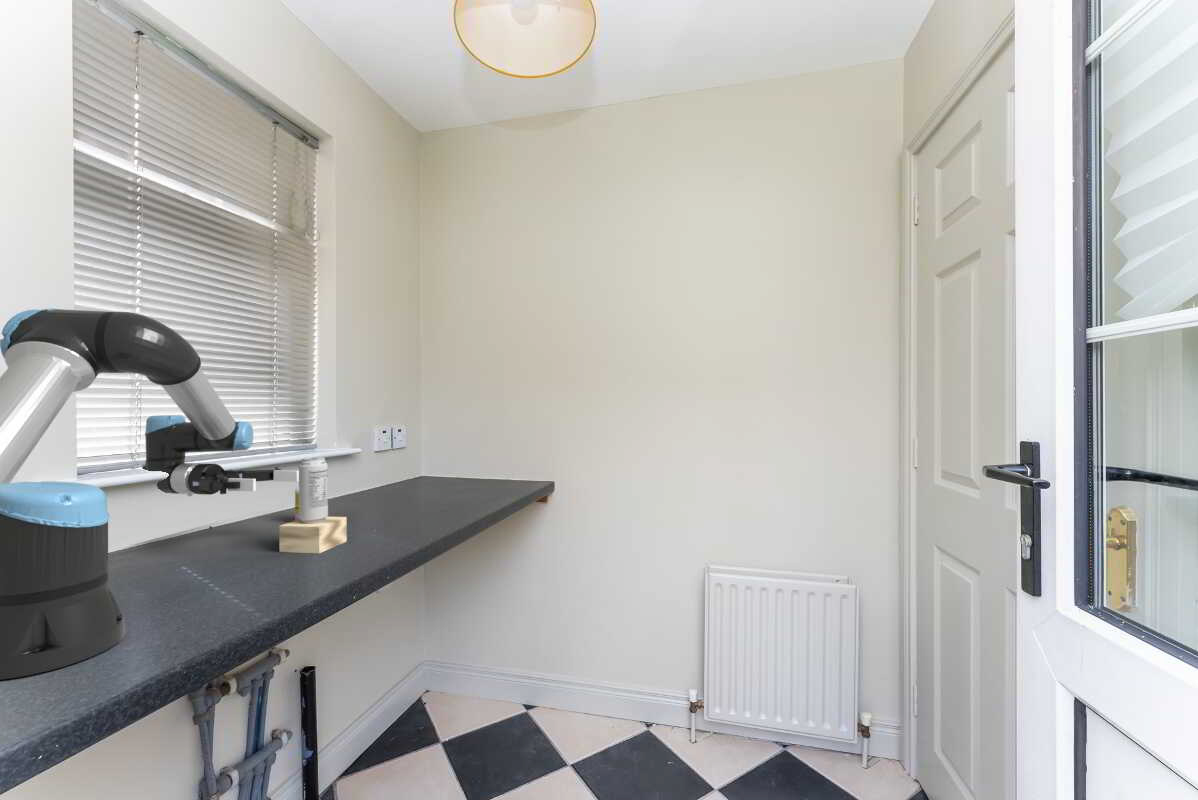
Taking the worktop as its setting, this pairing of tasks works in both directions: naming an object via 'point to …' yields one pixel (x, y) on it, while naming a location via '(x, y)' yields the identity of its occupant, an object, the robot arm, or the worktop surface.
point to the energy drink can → (313, 490)
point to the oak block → (312, 535)
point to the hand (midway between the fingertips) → (277, 480)
